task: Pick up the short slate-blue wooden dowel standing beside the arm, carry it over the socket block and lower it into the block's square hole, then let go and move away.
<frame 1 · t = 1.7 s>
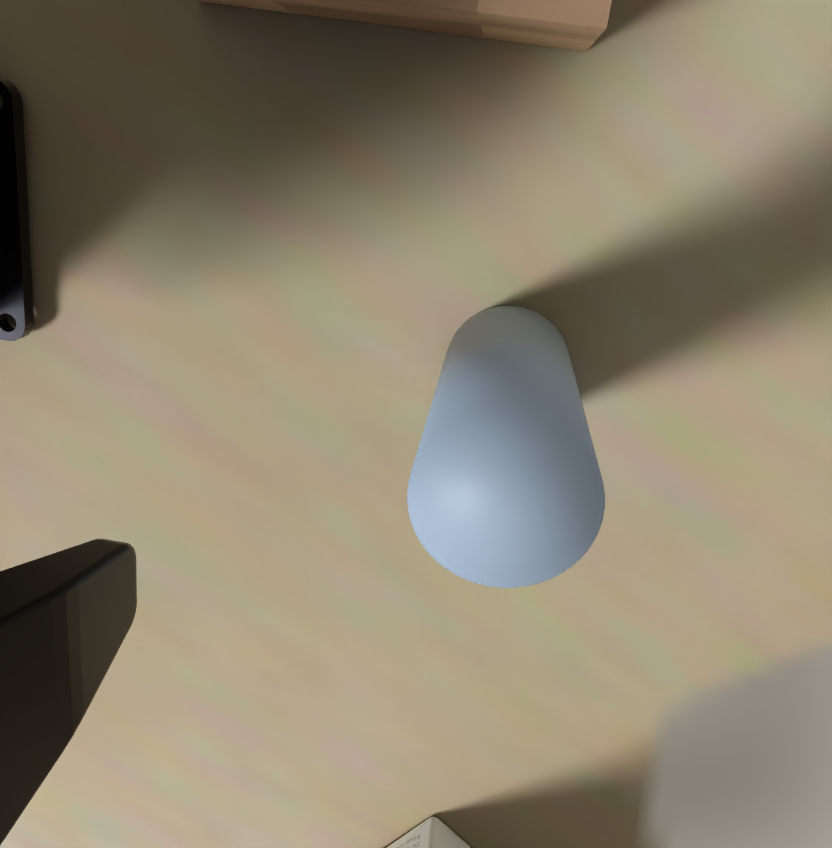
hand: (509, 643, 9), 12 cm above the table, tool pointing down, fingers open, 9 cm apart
peg: (507, 366, 20), on the table
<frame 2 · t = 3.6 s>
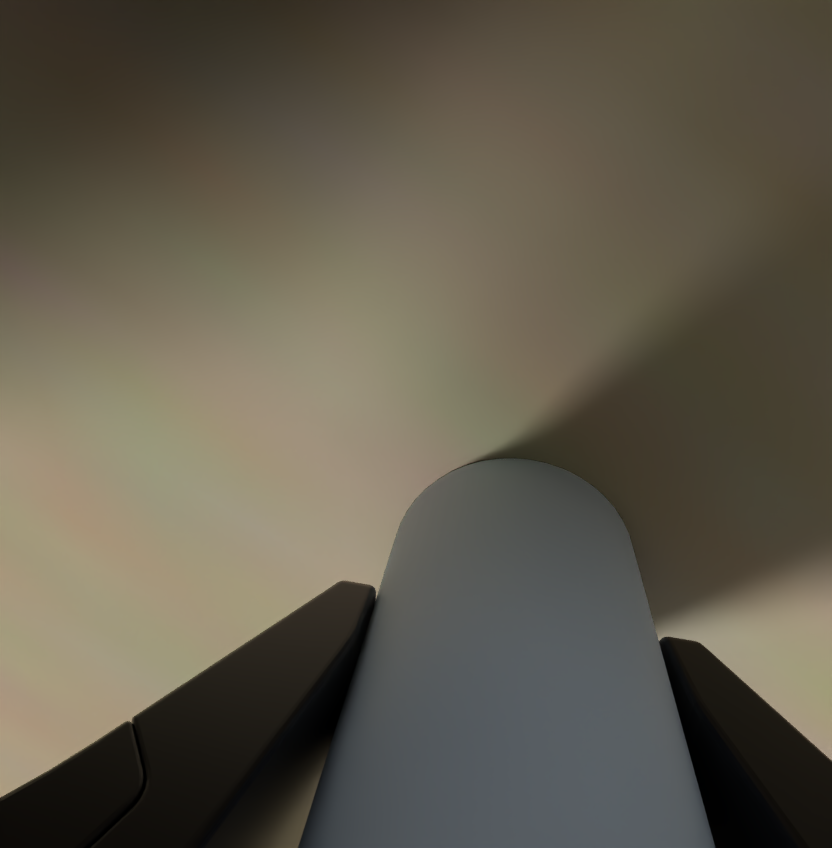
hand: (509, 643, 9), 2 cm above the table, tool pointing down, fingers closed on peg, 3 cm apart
peg: (511, 569, 10), on the table, touching gripper
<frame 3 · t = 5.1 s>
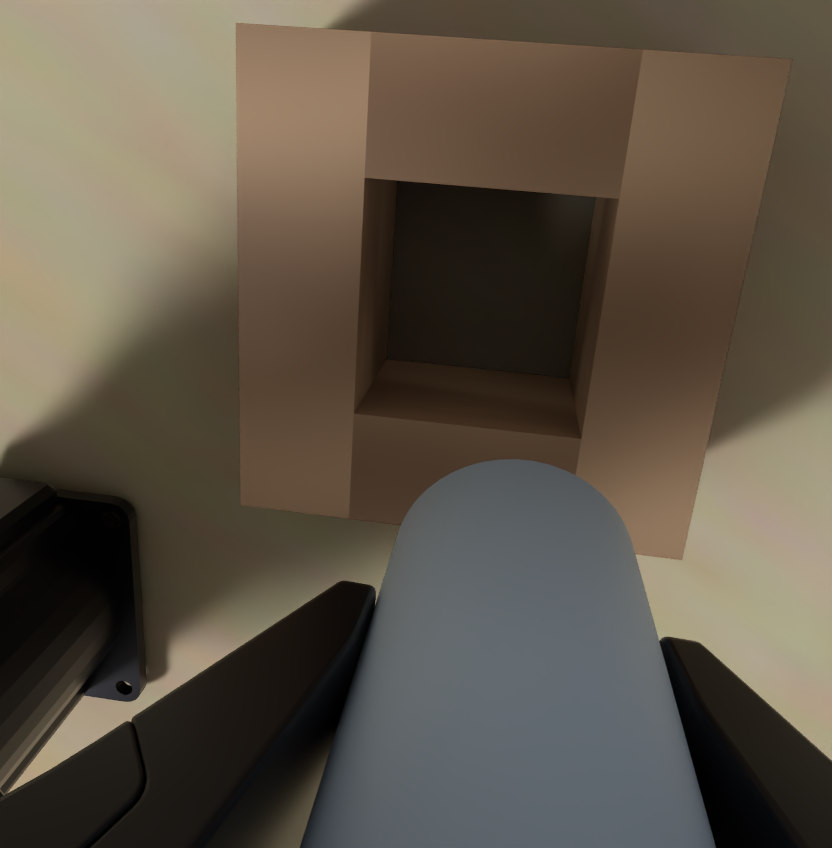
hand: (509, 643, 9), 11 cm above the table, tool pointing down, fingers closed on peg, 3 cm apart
socket block: (486, 277, 18), on the table
peg: (512, 570, 10), point 9 cm above the table, touching gripper
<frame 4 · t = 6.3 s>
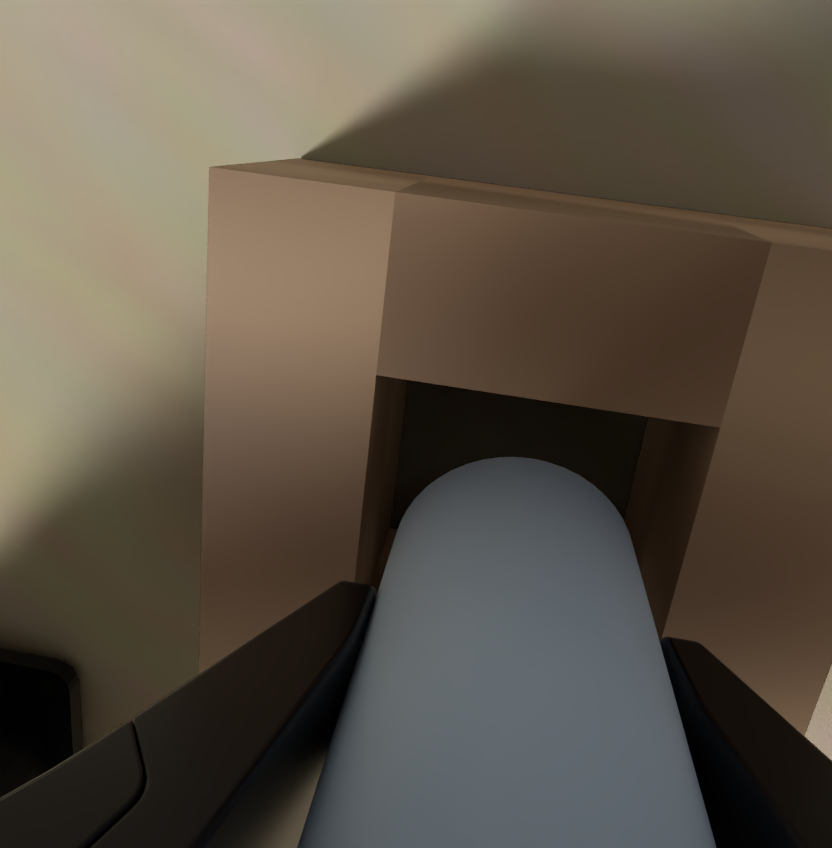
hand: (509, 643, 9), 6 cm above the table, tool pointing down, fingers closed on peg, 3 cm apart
socket block: (518, 443, 14), on the table
peg: (511, 568, 10), point 4 cm above the table, touching gripper
when the fingers open (5 cm above the table, at t = 6.9 s): peg drops 3 cm, resting in socket block.
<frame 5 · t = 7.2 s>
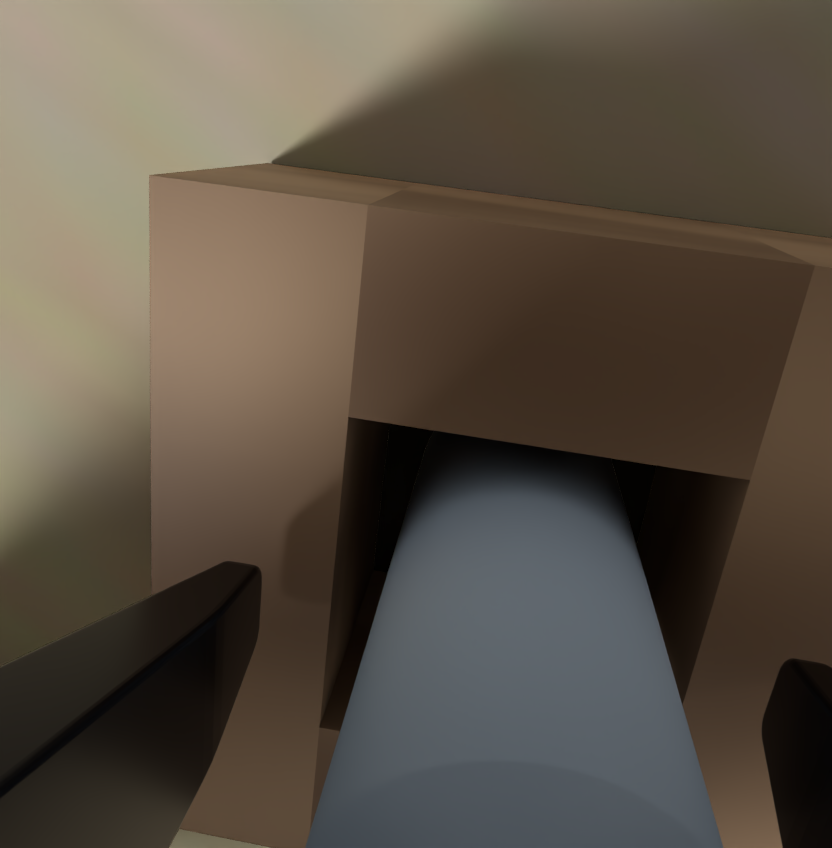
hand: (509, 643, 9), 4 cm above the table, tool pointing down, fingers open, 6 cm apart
socket block: (515, 479, 13), on the table
peg: (515, 479, 13), resting in socket block
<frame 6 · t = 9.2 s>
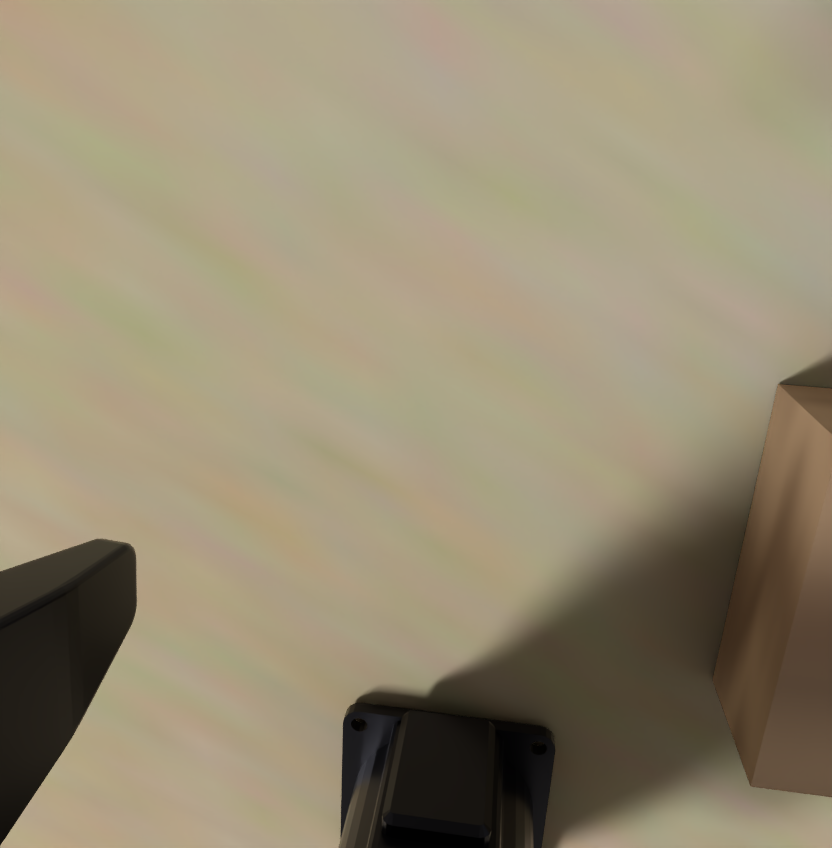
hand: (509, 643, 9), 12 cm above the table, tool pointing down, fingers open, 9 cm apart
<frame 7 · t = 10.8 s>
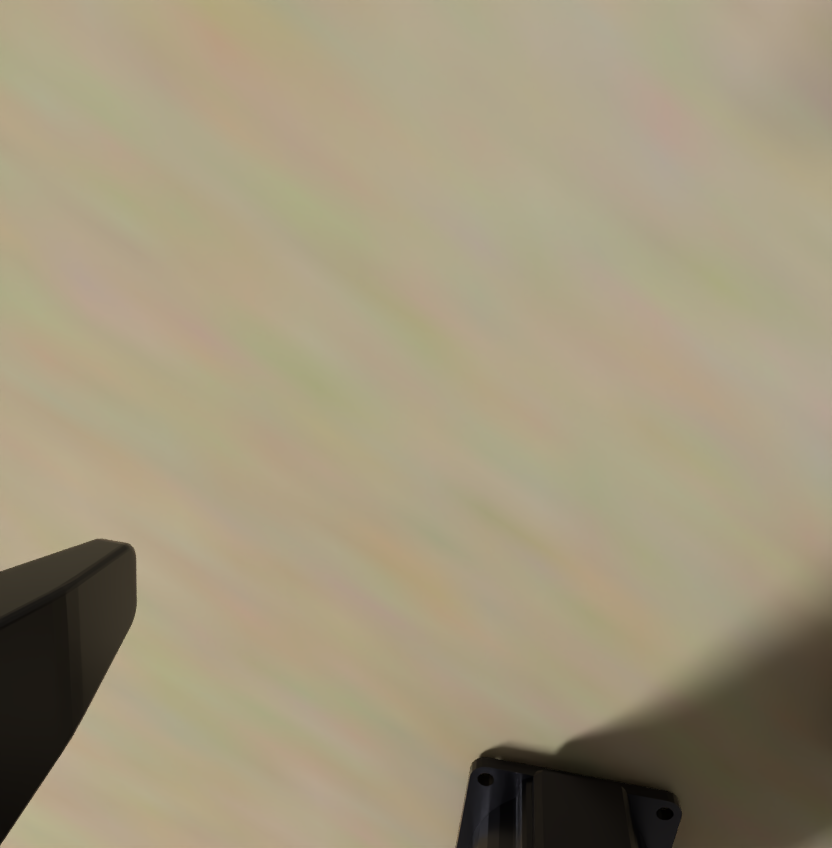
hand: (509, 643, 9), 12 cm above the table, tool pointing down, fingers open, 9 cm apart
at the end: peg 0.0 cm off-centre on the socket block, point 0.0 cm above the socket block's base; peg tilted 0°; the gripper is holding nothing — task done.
